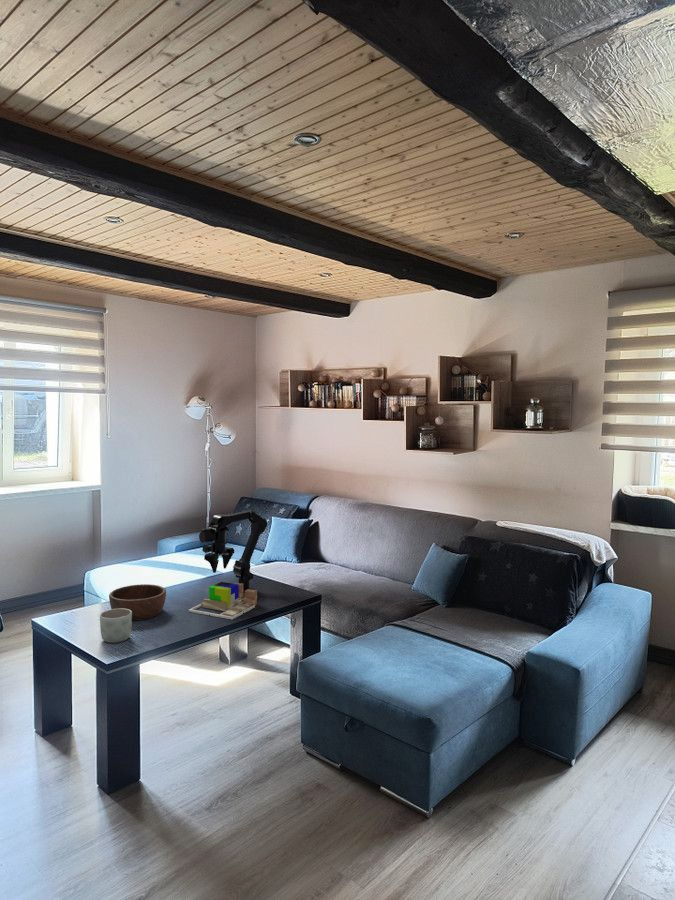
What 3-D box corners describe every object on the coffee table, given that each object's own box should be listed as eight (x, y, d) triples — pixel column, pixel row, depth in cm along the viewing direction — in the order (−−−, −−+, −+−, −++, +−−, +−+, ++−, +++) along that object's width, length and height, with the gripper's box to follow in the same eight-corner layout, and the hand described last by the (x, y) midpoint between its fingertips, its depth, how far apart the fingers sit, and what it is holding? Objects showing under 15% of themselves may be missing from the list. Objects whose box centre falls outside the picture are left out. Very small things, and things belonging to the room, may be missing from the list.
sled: (226, 594, 309) (226, 581, 308) (251, 598, 303) (251, 585, 302) (201, 607, 290) (201, 592, 289) (227, 611, 284) (227, 596, 283)
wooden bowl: (110, 607, 288) (110, 586, 287) (165, 602, 296) (165, 582, 295) (107, 625, 264) (107, 602, 264) (167, 620, 272) (167, 597, 271)
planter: (122, 631, 257) (122, 606, 257) (138, 639, 249) (137, 613, 249) (94, 639, 248) (94, 613, 247) (109, 647, 240) (109, 620, 239)
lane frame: (213, 600, 300) (213, 598, 300) (255, 607, 290) (255, 605, 290) (188, 611, 283) (188, 609, 283) (232, 619, 273) (232, 617, 273)
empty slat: (248, 603, 296) (248, 589, 295) (256, 604, 294) (256, 590, 293) (223, 616, 277) (223, 601, 276) (232, 618, 275) (232, 603, 274)
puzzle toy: (238, 604, 294) (238, 584, 293) (226, 610, 285) (226, 589, 284) (221, 601, 298) (221, 581, 298) (209, 607, 289) (209, 587, 288)
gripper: (216, 535, 317) (216, 564, 318) (195, 542, 299) (195, 573, 300) (235, 537, 312) (234, 567, 313) (214, 544, 295) (214, 575, 296)
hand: (219, 570), depth 306 cm, fingers open, 9 cm apart
